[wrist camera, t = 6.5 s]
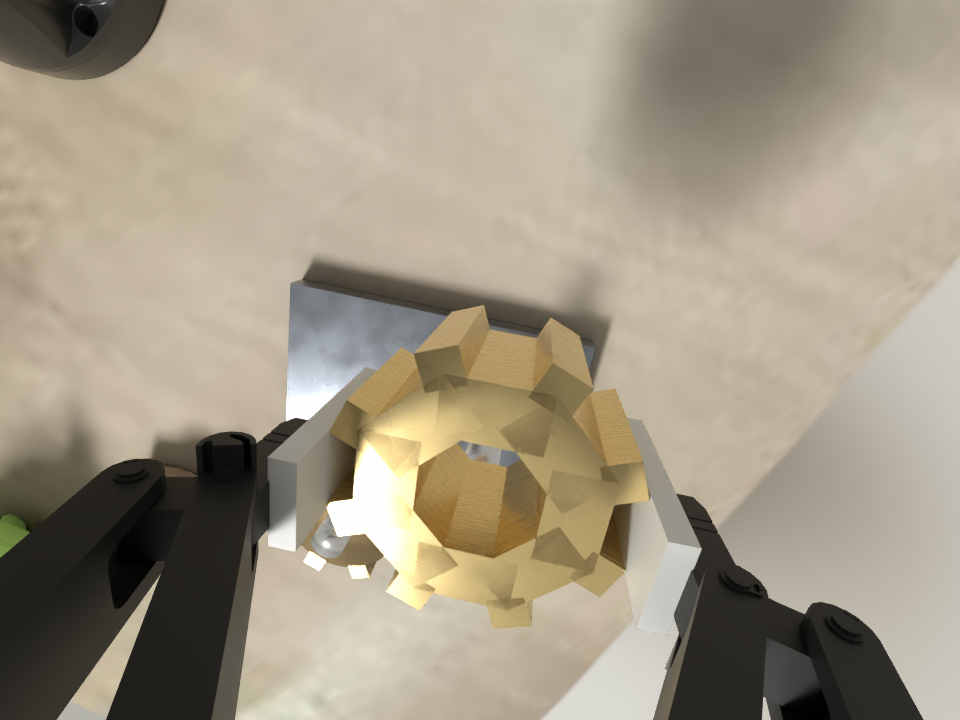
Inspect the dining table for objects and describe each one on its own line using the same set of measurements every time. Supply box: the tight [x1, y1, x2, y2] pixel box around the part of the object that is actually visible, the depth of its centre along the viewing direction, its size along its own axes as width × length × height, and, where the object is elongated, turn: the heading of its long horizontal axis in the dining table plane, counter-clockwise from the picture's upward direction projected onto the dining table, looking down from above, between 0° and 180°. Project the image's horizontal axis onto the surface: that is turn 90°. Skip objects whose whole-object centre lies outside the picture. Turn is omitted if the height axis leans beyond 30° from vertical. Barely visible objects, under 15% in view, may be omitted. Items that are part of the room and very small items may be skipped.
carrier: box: [286, 279, 596, 579], centre depth 30 cm, size 20×20×8 cm
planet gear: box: [326, 305, 649, 629], centre depth 15 cm, size 9×9×5 cm
